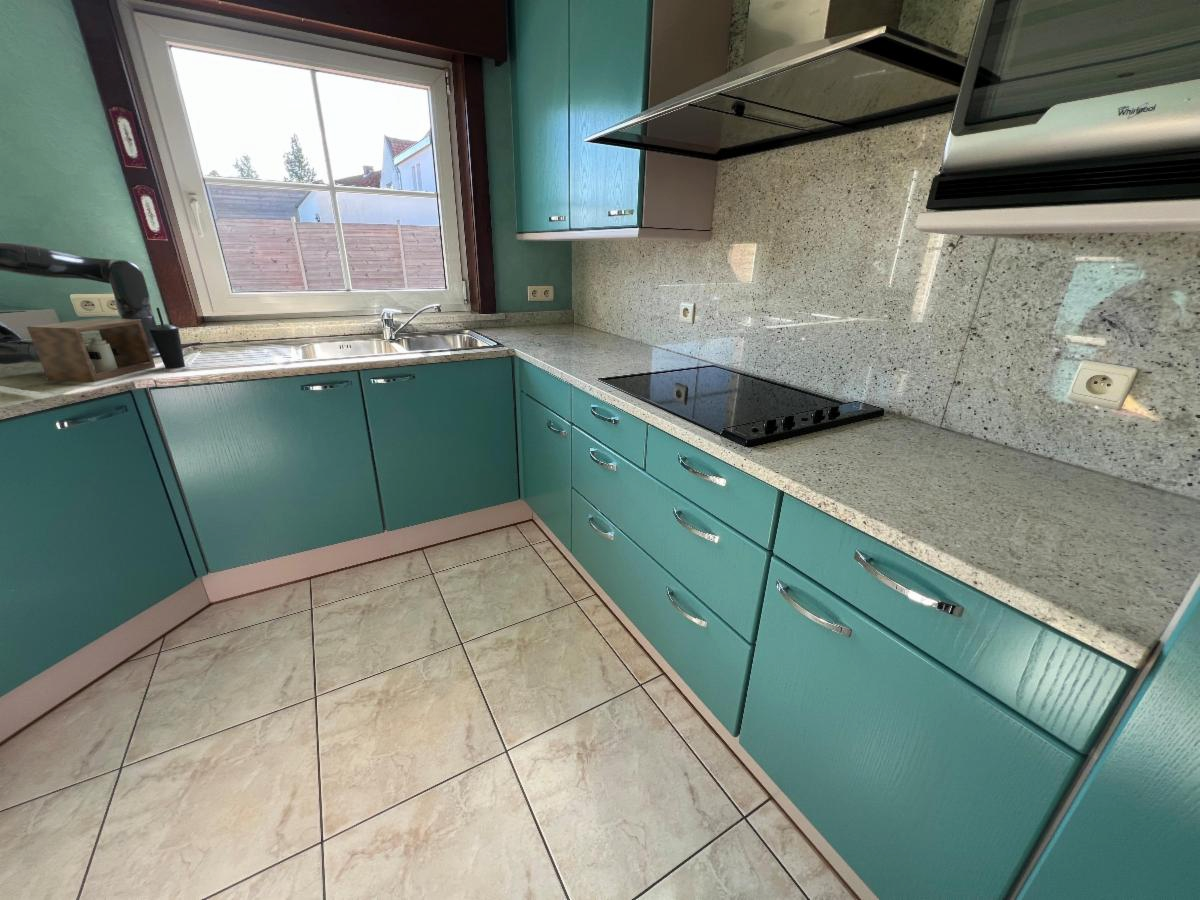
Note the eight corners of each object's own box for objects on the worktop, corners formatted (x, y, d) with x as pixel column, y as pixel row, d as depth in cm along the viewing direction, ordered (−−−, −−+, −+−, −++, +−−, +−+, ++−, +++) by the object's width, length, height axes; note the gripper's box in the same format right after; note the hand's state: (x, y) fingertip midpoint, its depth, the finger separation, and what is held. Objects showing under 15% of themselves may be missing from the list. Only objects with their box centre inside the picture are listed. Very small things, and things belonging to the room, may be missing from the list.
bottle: (112, 370, 154) (100, 335, 150) (123, 372, 153) (111, 336, 149) (92, 374, 150) (78, 337, 146) (103, 375, 148) (90, 339, 144)
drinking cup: (174, 367, 165) (156, 306, 158) (196, 368, 165) (179, 307, 158) (154, 372, 158) (134, 308, 151) (177, 373, 158) (158, 309, 151)
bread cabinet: (49, 383, 143) (26, 326, 137) (115, 369, 161) (98, 318, 155) (95, 385, 142) (74, 328, 136) (156, 370, 161) (140, 319, 155)
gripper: (24, 343, 141) (80, 345, 141) (76, 335, 155) (127, 337, 154) (34, 369, 144) (89, 371, 144) (84, 359, 157) (135, 361, 157)
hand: (109, 353), depth 149 cm, fingers open, 5 cm apart
